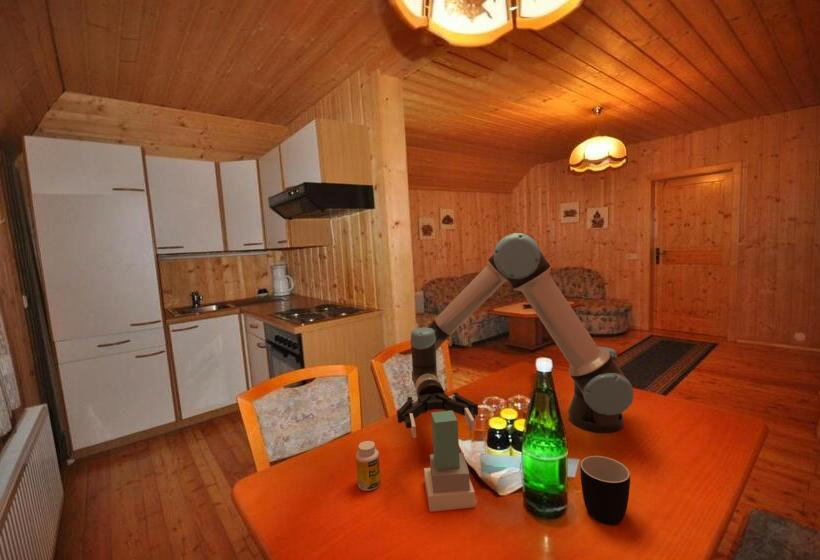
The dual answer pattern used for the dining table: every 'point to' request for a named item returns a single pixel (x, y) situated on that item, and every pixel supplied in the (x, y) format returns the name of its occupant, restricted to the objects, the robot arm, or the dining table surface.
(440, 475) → the grey brick
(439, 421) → the teal brick
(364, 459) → the supplement bottle
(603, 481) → the mug
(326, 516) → the dining table surface
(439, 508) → the base brick
